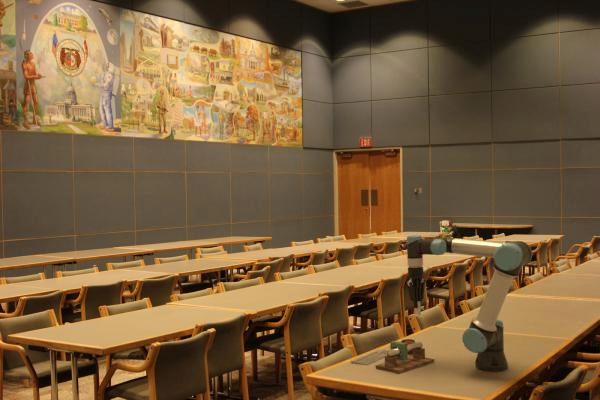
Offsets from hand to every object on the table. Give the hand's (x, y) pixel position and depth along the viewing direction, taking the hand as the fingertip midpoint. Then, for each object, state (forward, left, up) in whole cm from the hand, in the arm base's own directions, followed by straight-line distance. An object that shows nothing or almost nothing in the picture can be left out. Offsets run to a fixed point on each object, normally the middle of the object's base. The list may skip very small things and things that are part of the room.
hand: (417, 314), depth 339 cm
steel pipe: (+6, -4, -18) cm, 20 cm away
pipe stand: (+6, -4, -25) cm, 26 cm away
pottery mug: (-16, -17, -25) cm, 34 cm away
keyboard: (+5, -25, -26) cm, 36 cm away
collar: (+11, -4, -21) cm, 24 cm away
